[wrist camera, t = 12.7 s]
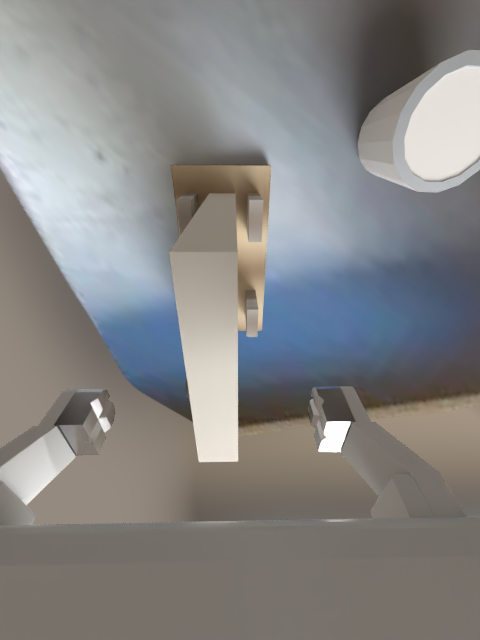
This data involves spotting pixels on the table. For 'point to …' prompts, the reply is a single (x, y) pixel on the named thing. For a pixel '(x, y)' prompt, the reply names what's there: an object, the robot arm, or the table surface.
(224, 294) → the rectangular slab
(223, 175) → the peg board base
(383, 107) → the white cup
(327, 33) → the table surface
